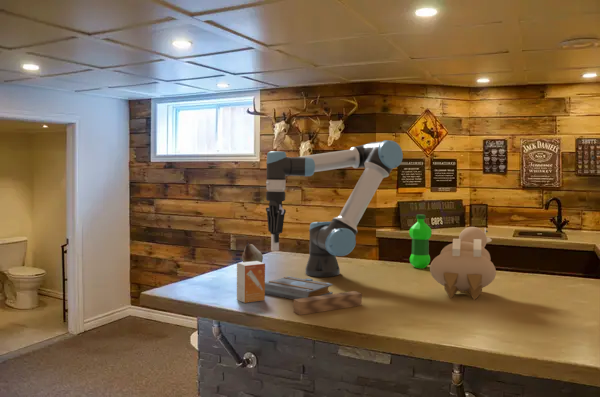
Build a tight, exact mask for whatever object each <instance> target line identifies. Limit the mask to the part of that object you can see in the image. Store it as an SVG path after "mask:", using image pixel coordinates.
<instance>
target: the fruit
mask: <svg viewBox="0 0 600 397" xmlns="http://www.w3.org/2000/svg"><path fill="white" fill-rule="evenodd" d="M263 256H264V255H263V254H262V252H261V251H260V250H259V249H258V248H257V247H256V246H255V245H254V244H252V243H249V242H248V241H247V242H246V245H245V247H244V250H243V252H242V262H252V261H259V262H262V263H263V259H264V257H263Z"/></svg>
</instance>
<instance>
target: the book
mask: <svg viewBox="0 0 600 397" xmlns="http://www.w3.org/2000/svg"><path fill="white" fill-rule="evenodd" d="M333 285H334V284H333V283H330V282H323V281H319V280H313V279H312V278H299V277H293V276H283V277H280V278H276V279H273V280H269V281H265V295H269V296H274V297H279V298H284V297H285V298H286V299H290V300H294V299H300V298H308V297H315V296H322V295H329V294H334V292H332V291H330V290H329V287H331V286H333Z"/></svg>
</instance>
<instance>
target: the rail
mask: <svg viewBox="0 0 600 397" xmlns="http://www.w3.org/2000/svg"><path fill="white" fill-rule="evenodd" d="M362 298H363V293H361V292H359V291H356V290H352V291H344V292H338V293H333V294H329V295H322V296H315V297H308V298H300V299H293V313H295V314H297V315H299V316H301V315H308V314H314V313H321V312H322V313H323V312H326V311H327V312H328V311H333V310H339V309H346V308H353V307H358V306H362V305H363V303H362V302H363V299H362Z"/></svg>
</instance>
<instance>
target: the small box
mask: <svg viewBox="0 0 600 397" xmlns="http://www.w3.org/2000/svg"><path fill="white" fill-rule="evenodd" d="M265 282H266V263H264V262H263V261H262V262H259V261H252V262H243V261H242V262H237V263H236V300H237V301H239V302H241V303H243V304H246V303H254V302H259V301H260V302H262V301H265V300H266V296H265V295H266V294H265Z"/></svg>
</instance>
